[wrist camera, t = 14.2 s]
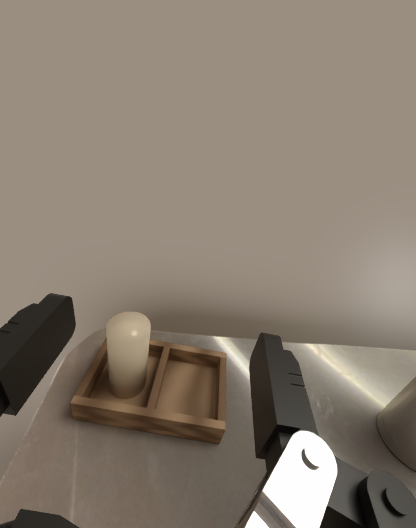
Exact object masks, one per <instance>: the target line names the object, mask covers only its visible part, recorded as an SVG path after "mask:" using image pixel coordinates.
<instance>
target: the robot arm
mask: <svg viewBox="0 0 416 528" xmlns="http://www.w3.org/2000/svg"><path fill="white" fill-rule="evenodd" d="M75 325H76V323H75V316H74V309H73V302H72V298H71V297H69V296H64V295H58V294H53V293H50V294H48V295H47V296H46V297H45V298H44V299H43V300H42V301H41V302H40V303H39V304H31V305H29V306H27V307H26V308H24V309H22V310H20V311H18V312H17V314H15V315H14V316H13V317H12V318H11V319H10V320H9V321H8V323H7V324H5V325H4V326H3V327H1V328H0V417H1V415H2V414H3V413H4V414H10V415H15V416H16V415H17V413H18V412H19V410H20V409H21V408H22V406H23V405H24V403H25V402H26V401H27V399H28V398H29V396H30V395H31V393H32V392H33V391H34V389H35V388H36V386H37V385H38V384H39V382H40V381H41V379H42V378H43V377H44V375H45V374H46V372H47V371H48V369H49V368H50V367H51V365H52V364H53V362H54V361H55V360H56V358H57V357H58V355H59V354H60V352H61V351H62V350H63V348H64V347H65V346H66V344H67V343H68V341H69V340H70V338H71V337H72V335H73V333H74V330H75ZM249 371H250V385H251V398H252V412H253V425H254V439H255V452H256V458H259V459H265V460H266V470H267V472H266V473H265V475H264V477H263V478H262V480H261V482H260V484H259V485H258V487H257V489H256V491H255V493H254V494H253V496H252V498H251V500H250V501H249V503H248V505H247V507H246V509H245V510H244V512H243V514H242V516H241V517H240V519H239V521H238V523H237V524H236V526H235V528H416V499H415V498H414V496H413V495H412V493H411V492H410V491H409V490H408V488H407V487H406V486H405V485H404V484H403V483H402V482H401V481H400V480H398V479H397V478H396V477H394V476H393V475H391V474H389V473H387V472H385V471H380V470H378V471H374V472H372V473H370V474H369V475H367V474H365V473H363V472H362V471H360V470H358V469H356V468H354V467H352V466H350V465H349V464H347V463H345V462H343V461H341V460H340V459H338V458H337V457H336V456H334V455H333V453H332V451H331V450H330V448H329V447H328V445H327V444H326V443H325V442H324V441H323V440H322V439H321V438H320V437H319V434H318V432H317V429H316V425H315V422H314V418H313V414H312V411H311V407H310V403H309V400H308V396H307V392H306V389H305V388H304V386H305V385H304V381H303V378H302V374H301V370H300V367H299V363H298V361H297V360H296V358H295V357H294V355H293V354H292V352H291V351H288V350H283V346H282V342H281V338H280V336H277V335H272V334H267V333H261V334H260V335H259V338H258V340H257V343H256V345H255V348H254V350H253V352H252V355H251V358H250V366H249ZM377 427H378V430H379V433H380V435H381V437H382V439H383V441H384V442H385V444H386V445H387V446H388V448H389V449H390V450H391V451H392V452H393V454H394V455H395V456H396V457H397V458H398V459H399V460H401V461H402V462H403V463H404V464H405V465H407V466H408V467H410V468H411V469H413V470H415V471H416V377H415V378H414V379H413V380H412V381H411V382H410V383H409V384H408V385H407V386H406V387H405V388H404V389H403V390H402V391H401V392H400V393H399V394H398V395H397V396H396V397H395V398H394V399H393V400H392V401H391V402H390V403H389V404H388V405H387V406H386V407H385V408H384V409H383V410H382V411H381V412H380V413H379V414H378V416H377ZM0 528H79V527H77V526H76V525H74V524H73V523H71V522H70V521H68V520H66V519H65V518H63V517H62V516H60V515H55V514H49V513H43V512H37V511H30V510H24V509H20V511H19V513H18V515H17V517H16V519H15V520H13V521H10V522H7V523H4V524H1V525H0Z"/></svg>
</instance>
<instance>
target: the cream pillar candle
mask: <svg viewBox="0 0 416 528" xmlns="http://www.w3.org/2000/svg"><path fill="white" fill-rule="evenodd" d="M150 327H151V326H150V321H149V320H148V318H147V317H146V316H144V315H143V314H141V313H138V312H123V313H120V314H117V315H115V316H114V317H113V318H111V319H110V320H109V322H108V324H107V327H106V333H107V352H108V370H109V387H110V391H111V392H112V394H113V395H114V396H115V397H117V398H120V399H130V398H133V397H136V396H137V395H139V394H140V393H141V392H142V391H143V389H144V388H145V385H146V379H147V366H148V353H149V340H150Z"/></svg>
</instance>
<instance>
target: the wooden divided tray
mask: <svg viewBox="0 0 416 528" xmlns="http://www.w3.org/2000/svg"><path fill="white" fill-rule="evenodd" d="M70 405H71V410H72V415H73V419H75V420H81V421H87V422H93V423H99V424H104V425H110V426H116V427H122V428H128V429H134V430H140V431H145V432H151V433H157V434H163V435H169V436H175V437H181V438H186V439H192V440H198V441H204V442H210V443H216V444H219V443H220V441H221V439H222V436H223V434H224V432H225V418H226V353H223V352H217V351H212V350H206V349H201V348H195V347H190V346H184V345H179V344H173V343H168V342H162V341H157V340H151V339H150V340H149V353H148V366H147V379H146V385H145V388H144V389H143V391H142V392H141V393H140V394H139V395H137V396H136V397H133V398H130V399H120V398H117V397H115V396H114V395H113V394H112V392H111V391H110V387H109V370H108V352H107V337H106V339H105V341H104V342H103V344H102V346H101V348H100V350H99V351H98V353H97V355H96V357H95V359H94V361H93V362H92V364H91V366H90V368H89V370H88V371H87V373H86V375H85V377H84V379H83V380H82V382H81V384H80V386H79V388H78V390H77V391H76V393H75V395H74V397H73V399H72V400H71V402H70Z"/></svg>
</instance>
